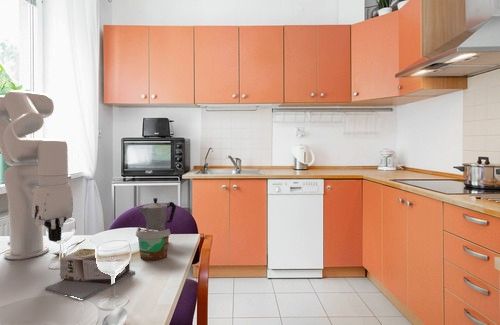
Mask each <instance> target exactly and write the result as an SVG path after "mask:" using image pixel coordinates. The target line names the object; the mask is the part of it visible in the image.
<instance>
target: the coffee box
mask: <svg viewBox="0 0 500 325" xmlns="http://www.w3.org/2000/svg"><path fill="white" fill-rule="evenodd" d="M95 249H96V248H95ZM95 249H90V248H79V249H77V250H75V251H74V252H71V253H68V254H67V255H65V256H62V257H61V258H59V273H60V274H59V276H60V280H61V281H62V280H75V281H88V282H100V283H111V276H110V275H108V274H105V273H103V272H101V271H100V270H99V269H98V267H97V264H96V258H95ZM130 265H131V264H130V262H129V264H128V265H127V266H126V267H125V269H124V270H123V271H122V272H121V273H119V274H118V275H117V276H116V278H115V282H116V281H117V280H118V279H120V278H121V277H122V276H124V275H125V274H126V273H128V272H129V271H130V269H131V267H130Z"/></svg>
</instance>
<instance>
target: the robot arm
mask: <svg viewBox="0 0 500 325" xmlns="http://www.w3.org/2000/svg"><path fill="white" fill-rule="evenodd" d="M54 107H55V106H54V101H53V100H52V98H51V97H50V95H48V94H46V93H43V92H34V91H27V90H10V91H7V92H6V93H5V94H3V95H0V153H1V156H2V159H3V162H4V163H5V164H6V165H7V166H9V167H8V168H6V169H5V171H4V172H3V183H4V187H5V191H6V195H7V204H8V205H7V206H8V209H7V210H8V223H9V224H8V229H9V231H8V232H9V241H8V242H7V246H9V250H7V251H6V252H5V253H4V258H5V259H7V260H25V259H31V258H36V257H39V256H41V255H44V254H47V252H49V246H48V245H46V244H44V230H43V229H44V228H43V226H45V228H46V229H47V231H48V232H47V236H48V240H49V242H58V241H62V228H63V226H64V224H65V223H66V221H67V220H69V219H71V218H72V217H73V213H74V212H73V211H74V201H73V200H74V198H73V193H72V191H73V190H72V187H71V184H70V183H69V180H71V179H72V175H70V174H69V167H68V166H69V165H68V163H69V161H68V160H69V159H68V158H69V157H68V143H67V141H66V140H63V139H58V138H49V137H48V138H45V137H44V138H43V137H42V138H41V137H36V138H35V137H27V136H28V135H31V134H34V133H36V132H38V131H39V130H41V129H42V127H43V126H44V122H45V121H44V119H46V118H49V117H50V116H51V115H52V114H53V113H54V109H55V108H54Z"/></svg>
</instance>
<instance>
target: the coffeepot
mask: <svg viewBox="0 0 500 325" xmlns="http://www.w3.org/2000/svg"><path fill="white" fill-rule="evenodd" d="M168 208H171V210H170V214H169V219H168V220H166V219H167V211H168ZM176 209H177V206H176V204H175V203H174V202H172V201H170V202H163V203H162V202H158V198H156V197H154V198H153V202H151V203H148V204H145V205H143V206H140V207H139V208H138V211H139V212H141V213H142V215H143V216H144V219H145V224H146V229H145V230H150V229H156V230H160V231H164V230H166V225H165V223H168V224H169V223H172V222H173V220H174V219H173V218H174V215H175V212H176Z"/></svg>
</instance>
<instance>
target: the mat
mask: <svg viewBox="0 0 500 325" xmlns="http://www.w3.org/2000/svg"><path fill="white" fill-rule="evenodd" d="M134 274H136V271H135V270H132V269H131V270H130V271H129V272H128V273H126V274H125V275H124V276H122V277H121V278H120V279H118V280H117V281H116V282H115V284H117V283H119V282H121V281H123V280H124V279H126V278H128V277H131V276H132V275H134ZM111 286H112V285H111V283H100V282H88V281H75V280H62V279H61V280H60V281H58V282H55V283H53V284H50V285H48V286H46V287H44V290H45V291H48V292H51V293H55V294H58V295H61V296H64V295H67V296H66V297H68V296H74V297H77V298H80V299H84V300H85V299H88V298H90V297H92V296H93V295H95V294H97V293H99V292H102V291H104V290H105V289H107V288H109V287H111Z"/></svg>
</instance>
